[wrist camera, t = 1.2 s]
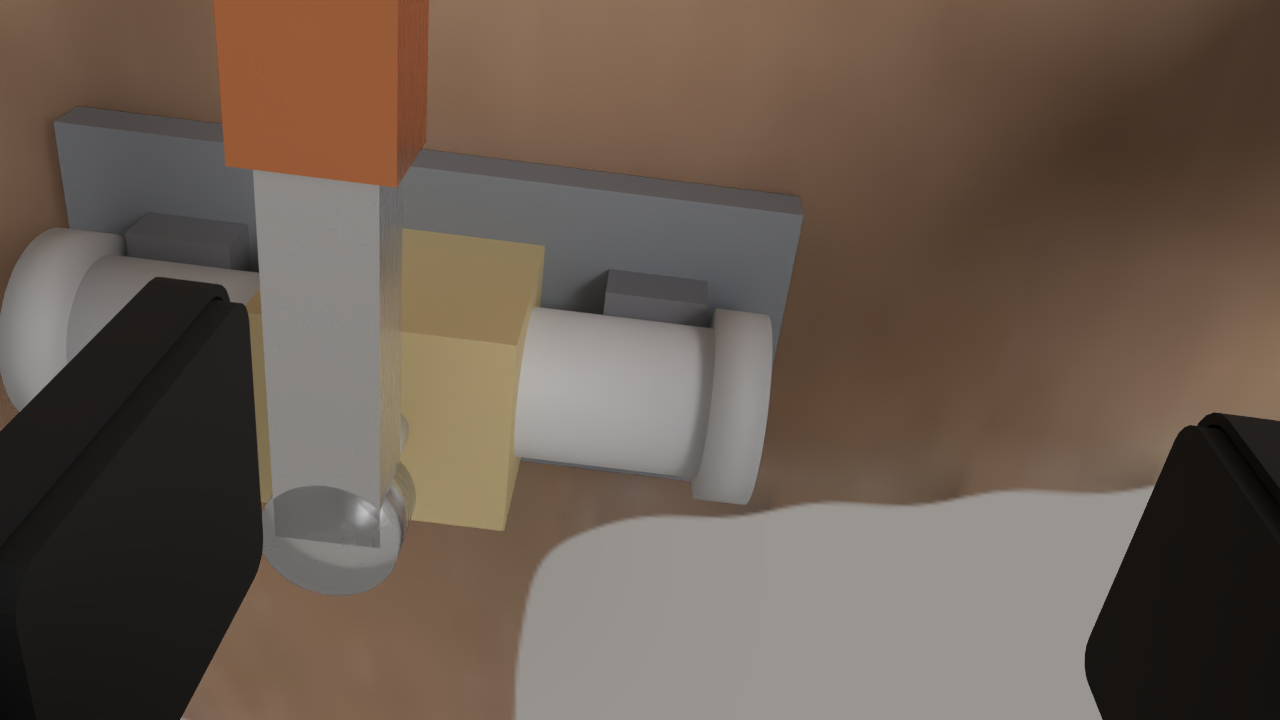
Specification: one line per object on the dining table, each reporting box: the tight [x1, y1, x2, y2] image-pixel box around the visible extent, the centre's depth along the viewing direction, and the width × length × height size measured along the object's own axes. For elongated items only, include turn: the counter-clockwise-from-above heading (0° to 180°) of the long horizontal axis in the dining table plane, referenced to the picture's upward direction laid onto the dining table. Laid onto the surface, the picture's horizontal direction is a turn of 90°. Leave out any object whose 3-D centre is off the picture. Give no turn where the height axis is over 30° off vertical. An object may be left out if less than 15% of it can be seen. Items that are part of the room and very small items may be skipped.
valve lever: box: [213, 0, 429, 596], centre depth 23 cm, size 3×18×3 cm, turn 173°
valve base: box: [0, 106, 804, 531], centre depth 32 cm, size 22×10×10 cm, turn 83°
